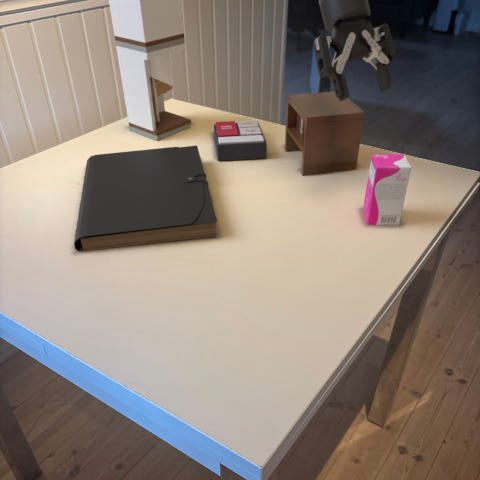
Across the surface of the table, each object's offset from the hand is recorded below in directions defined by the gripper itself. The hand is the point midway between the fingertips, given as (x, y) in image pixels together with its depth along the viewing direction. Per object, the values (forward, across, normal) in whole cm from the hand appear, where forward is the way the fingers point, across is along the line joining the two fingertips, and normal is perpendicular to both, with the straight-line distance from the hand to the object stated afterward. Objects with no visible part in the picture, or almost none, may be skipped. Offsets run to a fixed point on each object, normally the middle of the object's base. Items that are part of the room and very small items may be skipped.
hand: (365, 94), depth 83 cm
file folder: (+5, -37, +24) cm, 44 cm away
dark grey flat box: (-3, -10, +37) cm, 38 cm away
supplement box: (+22, -2, +3) cm, 22 cm away
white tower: (-15, -22, +52) cm, 59 cm away
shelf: (+5, +3, +25) cm, 26 cm away
